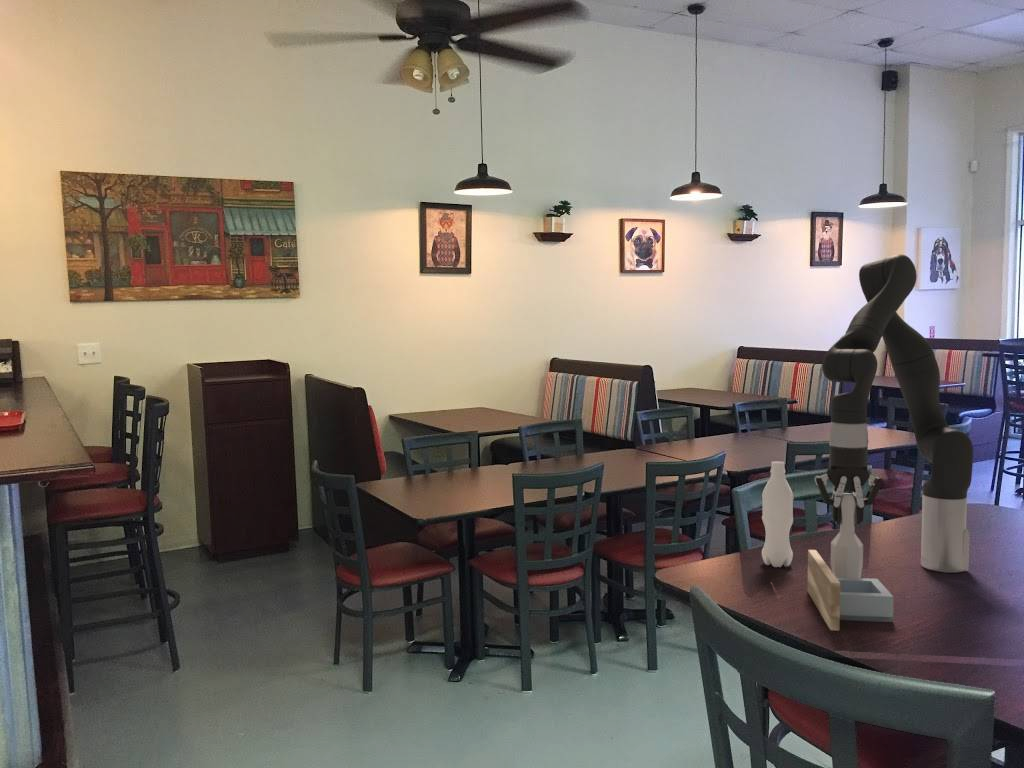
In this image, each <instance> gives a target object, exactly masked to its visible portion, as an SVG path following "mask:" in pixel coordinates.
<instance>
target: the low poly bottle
mask: <svg viewBox="0 0 1024 768" xmlns="http://www.w3.org/2000/svg"><path fill="white" fill-rule="evenodd" d="M839 507H840V508H841V513H840V524H839V532H838V533H837V535H836V536H835V537H834V538H833V539H832V540H831V542H830V567H831V568H830V570H831V571H832V573H833V574H834V575H835V577H841V578H862V572H863V567H864V566H863V563H864V544H863V543H862V541H861V540H860V538H859V537H858V536H857V534H856V533H855V528H856V527H855V525H856V524H855V512H856V501H855V497H854V494H853V492H851V493H849V492H843V496H842V497H841V501H840V505H839Z"/></svg>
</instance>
